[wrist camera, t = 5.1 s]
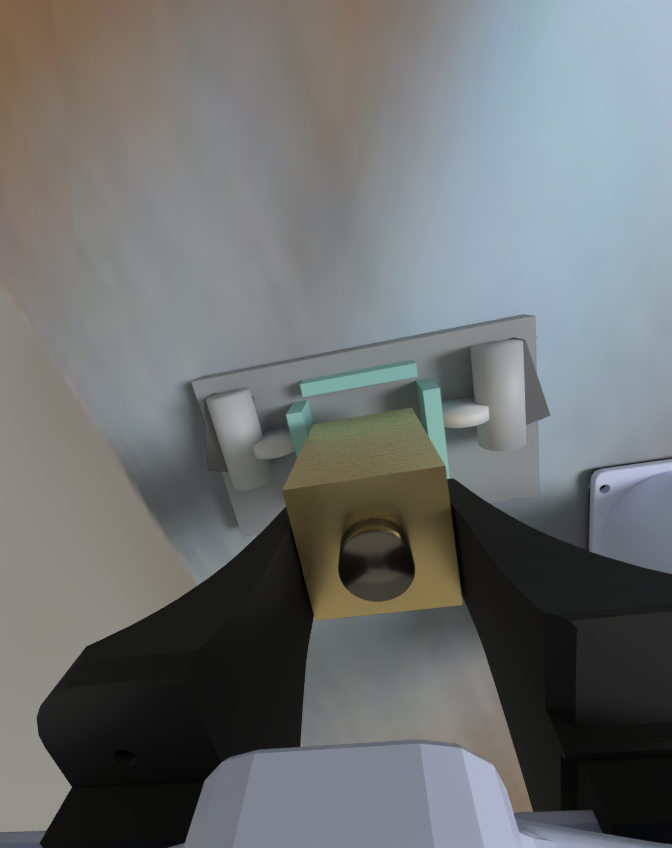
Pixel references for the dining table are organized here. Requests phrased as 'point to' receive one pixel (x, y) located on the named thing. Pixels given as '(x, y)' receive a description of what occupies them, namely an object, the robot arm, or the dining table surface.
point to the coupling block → (373, 517)
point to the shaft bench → (383, 410)
